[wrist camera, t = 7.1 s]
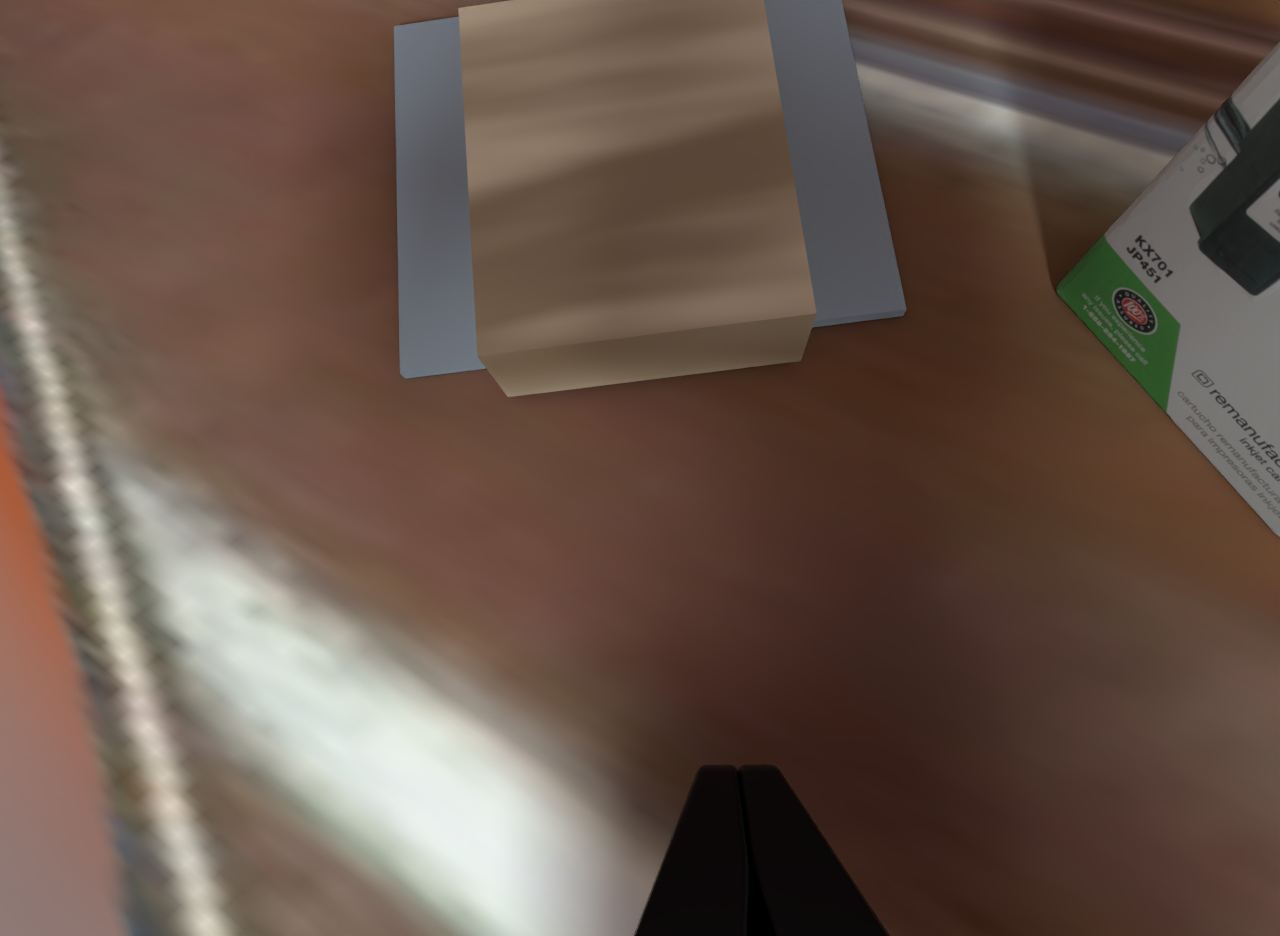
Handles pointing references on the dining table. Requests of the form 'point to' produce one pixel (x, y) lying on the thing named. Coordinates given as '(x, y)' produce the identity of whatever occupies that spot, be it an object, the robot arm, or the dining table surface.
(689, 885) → the robot arm
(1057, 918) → the dining table surface
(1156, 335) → the ink box
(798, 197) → the rubber mat
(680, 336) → the maple slab
